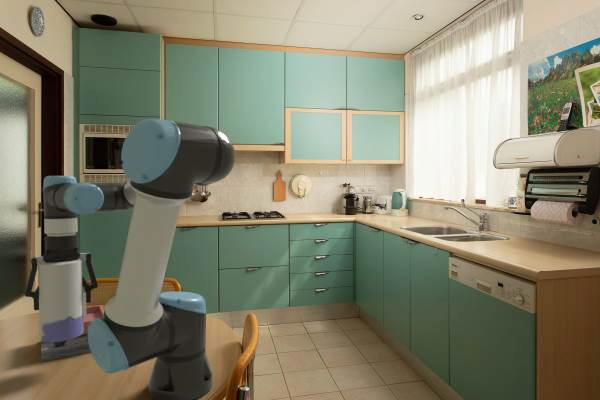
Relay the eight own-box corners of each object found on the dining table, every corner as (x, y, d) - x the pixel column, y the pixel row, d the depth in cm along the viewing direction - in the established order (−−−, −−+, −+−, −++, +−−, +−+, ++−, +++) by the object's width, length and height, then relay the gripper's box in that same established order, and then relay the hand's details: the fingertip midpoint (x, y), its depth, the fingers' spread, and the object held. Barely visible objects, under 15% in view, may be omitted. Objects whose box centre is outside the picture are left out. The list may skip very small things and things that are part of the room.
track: (163, 338, 129) (163, 331, 129) (41, 362, 111) (41, 354, 111) (151, 322, 143) (151, 316, 143) (41, 341, 125) (41, 334, 125)
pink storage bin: (107, 339, 121) (107, 318, 120) (47, 350, 112) (47, 328, 112) (101, 324, 133) (100, 305, 133) (47, 333, 125) (46, 312, 125)
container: (74, 326, 113) (72, 256, 113) (89, 334, 107) (88, 260, 106) (33, 336, 105) (32, 261, 105) (48, 346, 99) (46, 266, 99)
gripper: (105, 230, 115) (106, 307, 115) (11, 235, 103) (13, 322, 104) (108, 232, 108) (110, 314, 109) (9, 238, 96) (12, 330, 97)
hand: (63, 318), depth 106 cm, fingers closed on container, 9 cm apart
